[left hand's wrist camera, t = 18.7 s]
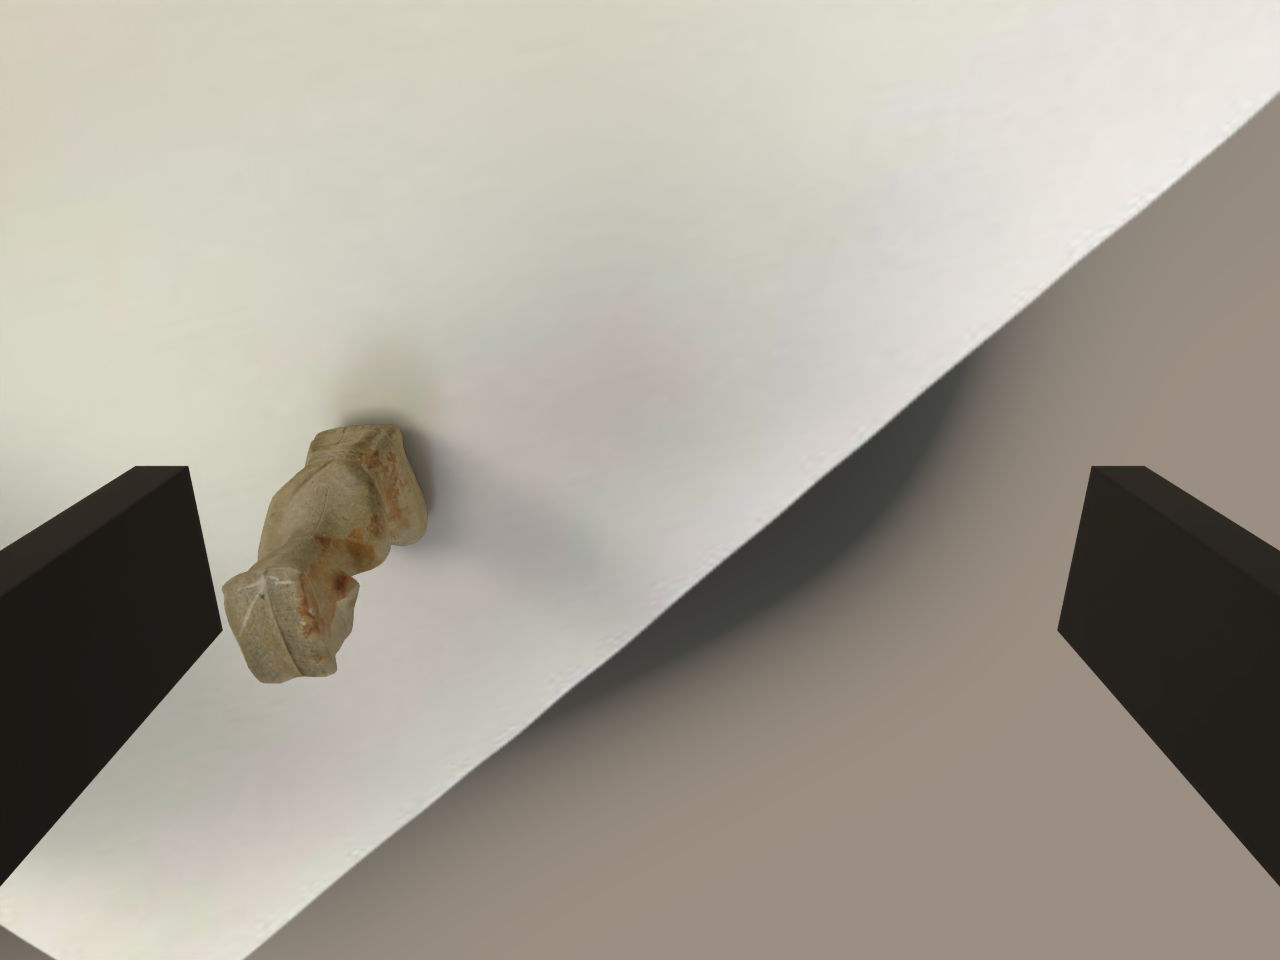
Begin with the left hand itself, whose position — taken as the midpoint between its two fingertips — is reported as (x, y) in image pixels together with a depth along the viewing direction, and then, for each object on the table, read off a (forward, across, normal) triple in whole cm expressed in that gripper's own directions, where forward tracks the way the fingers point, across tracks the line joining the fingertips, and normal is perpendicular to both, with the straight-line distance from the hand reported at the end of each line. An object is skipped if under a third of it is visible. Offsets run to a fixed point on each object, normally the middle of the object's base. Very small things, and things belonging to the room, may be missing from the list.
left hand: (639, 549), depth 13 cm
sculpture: (+31, +14, +11) cm, 36 cm away
